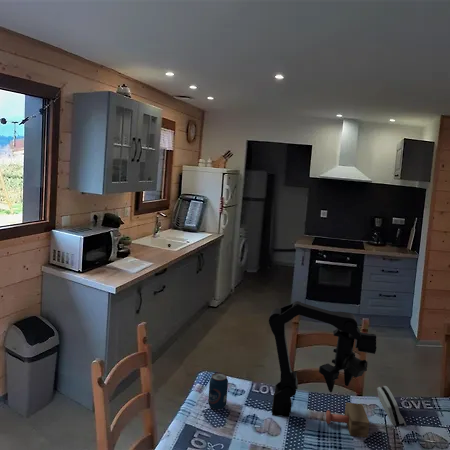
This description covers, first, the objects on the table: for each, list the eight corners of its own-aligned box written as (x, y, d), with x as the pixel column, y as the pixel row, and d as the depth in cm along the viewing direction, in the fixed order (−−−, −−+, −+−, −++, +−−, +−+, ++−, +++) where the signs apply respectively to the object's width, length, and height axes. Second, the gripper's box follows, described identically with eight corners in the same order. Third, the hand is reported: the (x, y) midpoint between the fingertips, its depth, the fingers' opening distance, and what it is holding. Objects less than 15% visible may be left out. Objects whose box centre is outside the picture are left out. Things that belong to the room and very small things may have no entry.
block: (350, 435, 155) (352, 420, 154) (344, 416, 167) (345, 402, 166) (367, 437, 155) (369, 422, 154) (360, 418, 166) (362, 404, 166)
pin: (327, 426, 159) (328, 414, 159) (325, 419, 164) (326, 408, 163) (354, 429, 159) (355, 417, 158) (351, 422, 163) (353, 411, 162)
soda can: (204, 406, 167) (206, 376, 165) (214, 398, 173) (216, 370, 171) (219, 413, 163) (222, 382, 161) (229, 405, 169) (231, 375, 167)
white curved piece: (406, 426, 163) (400, 402, 162) (393, 429, 163) (387, 405, 162) (392, 402, 179) (386, 379, 178) (380, 404, 180) (374, 382, 179)
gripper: (346, 363, 147) (340, 406, 150) (379, 352, 159) (372, 392, 161) (320, 349, 156) (315, 390, 158) (353, 340, 167) (347, 379, 170)
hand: (338, 388), depth 162 cm, fingers open, 9 cm apart
